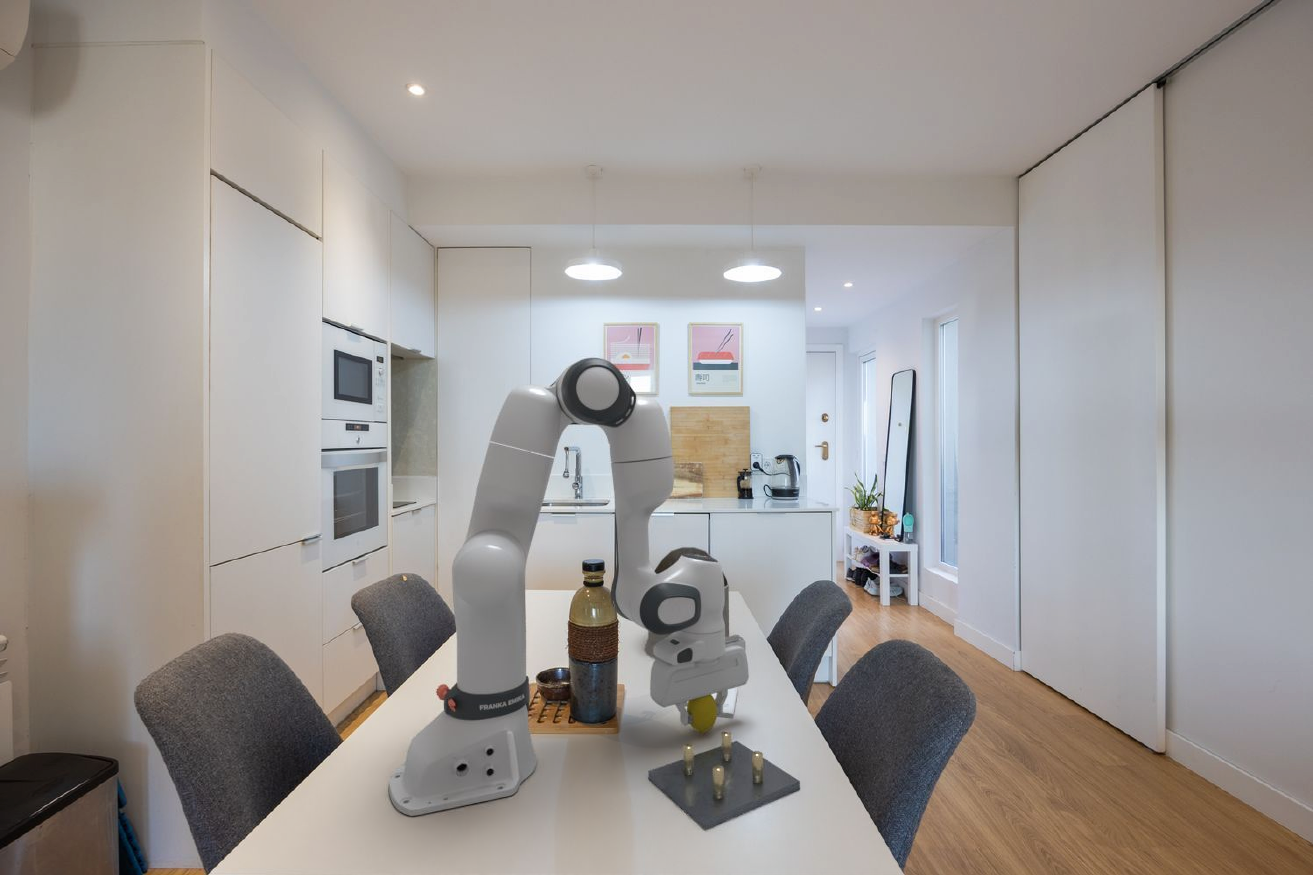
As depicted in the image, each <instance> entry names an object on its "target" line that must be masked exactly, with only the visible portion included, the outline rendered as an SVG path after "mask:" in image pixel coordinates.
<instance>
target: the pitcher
mask: <svg viewBox="0 0 1313 875" xmlns="http://www.w3.org/2000/svg"><path fill="white" fill-rule="evenodd" d="M684 554H699V555H703V556H708V557H711V558H714V557H713V556H712V555H710V554H709V553H708V551H706V550H704V549H702V548H701V549H700V548H697V547H696V546H695V547H694V546H682V547H681V546H680V547H678V548H675V549H672V550H670V551H669V552H668V553H667V554H666V555H665V556H664V557H663V558H661V559H660V560H659V563H657V565H656V567H655V568H654V569H653V570H654V572H655V573H656V574H659V573H661V572H663V571H665V570H666V569H668V568H669V567H671V566H672V565H673V564H674V563H676V562H677V561H678V560H679V558H680V556H681V555H684ZM722 572H723V578H724V592H725V604H724V608H723V620H724V623H725V637H730V600H729V599H730V597H729V596H730V590H729V589H730V586H729V580H728V578H727V576H726V573H725V571H723V569H722ZM647 631H648V630H647ZM647 633H648V634H647V635H648V636H647V637H648V638H647V640H646V644H645V646H644V649H643V652H644V653H645V654H646V656H647V657H649V658H651V659H653V660H654V661H655V660H656V659H657V658H658V657H656V656H655V655H654V653H653V648H654V645H655V644H657V643H658V642H660V641H662V640H663V639H665V638H666V637H668V636H670V635H671V634H672V633H670V634H666V635H658V634H654V633H651V632H649V631H648V632H647ZM673 633H674V632H673Z"/></svg>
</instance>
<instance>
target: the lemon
mask: <svg viewBox="0 0 1313 875" xmlns="http://www.w3.org/2000/svg"><path fill="white" fill-rule="evenodd" d="M686 711H688V712H689V713H691V714H692V723H691V724H689V725H690V726H691V728H693V729H694V730H695V731H698V732H699V733H700V734H702V735H703V734H705V733H706V732H707V731H709V730H711V729H712V728H713V727H714V725H715V724H716V720H717V718H718V717H717V707H716V703H715V700H714V698H713V696H712V695H711V694H710V695H707V696H703V697H699V698H696V699H692V700H689V701H687V706H686Z"/></svg>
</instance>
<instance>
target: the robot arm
mask: <svg viewBox="0 0 1313 875" xmlns="http://www.w3.org/2000/svg"><path fill="white" fill-rule="evenodd" d="M626 379H627V378H626V377H625V376H624V374H623V372H621V370H620V369H619V367H617V366H616V365H615V364H613V363H612V362H611V361H608V360H607V359H604V358H600V357H587V358H586V357H585V358H583V359H580V360H578V361H577V362H575V363H572V364H570V366H568V367H566V369H565V370H564V371H563V372H562V373H560V375H559V376H558V378H556V380H555V381H554V382H553V383H552V384H551V385H550V386H541V385H536V384H523V385H519V386H516V387H515V388H513V389H512V390H511V391H510V392H509V393H508V395H507V397H506V398H505V401H504V402H503V405H502V406H501V409H500V411H499V414H498V415H497V419H496V420H495V424H494V426H493V430H492V433H491V436H490V439H489V443H488V446H487V450H486V454H485V457H484V461H483V464H482V468H481V472H480V475H479V479H478V481H477V482H478V483H477V486H476V490H475V496H474V502H473V507H472V512H471V517H470V519H469V526H468V529H467V533H466V537H465V541H464V543H463V545H462V546H461V548H460V549H459V550H458V551H457V553H456V555H455V557H454V559H453V562H452V564H451V565H452V567H451V578H452V579H451V584H452V585H451V586H452V588H451V589H452V600H453V601H452V602H453V611H454V612H453V614H454V621H455V631H456V683H455V684H454V685H453V686H452V687H451V688H450V687H449V686H448V685H447V684H445V683H443V684H442V683H441V684H439V686H438V687H437V688H435V689H436V691H435V693H436V696H437V698H438V699H439V700H441V701H443V711H442V712H440V713H439V714H438V715H437V716H436V717H435V718H434V719H432V720H431V721H430V723H428V724H427V725H425V726H424V727H423V728H422V729H421V730H420V731H419V732H418V733H417V734H416V735H415V736H413V738H412V739H411V741H410V743H409V745H408V748H407V752H406V756H405V757H406V758H405V763H404V764H403V765H401V766H398V767H396V769H395V770H394V771H393V772H392V774H391V775H390V778H389V779H390V780H389V785H388V786H389V787H388V792H389V797H390V799H391V803H392V804H393V806H394V807H395V808H396V809H397V811H399V812H401V813H402V814H405V815H406V816H410V817H414V816H421V815H425V814H429V813H433V812H435V813H436V812H440V811H443V810H444V811H445V810H449V809H453V808H454V809H455V808H459V807H463V806H467V805H472V804H477V803H481V802H486V801H492V800H497V799H500V798H506V797H511V796H513V795H514V794H516V792H517V791H518V789H520V786H521V783H523V781H524V780H526V779H527V778H528V777H529V776H531V774H532V773H533V772H534V770H535V769H536V767H537V762H538V761H537V756H536V753H535V750H534V747H533V742H532V737H531V731H530V723H529V714H528V711H530V700H531V699H530V698H531V689H530V680H529V676H528V675H527V617H526V616H527V614H526V613H527V612H526V610H527V609H526V606H527V605H526V566H527V561H528V557H529V553H530V549H531V545H532V542H533V539H534V535H535V531H536V527H537V525H538V524H537V523H538V520H539V517H540V513H541V510H542V507H543V504H544V499H545V496H546V493H547V492H546V491H547V489H548V483H549V481H550V477H551V473H552V469H553V466H554V462H555V457H556V454H557V450H558V445H559V442H560V440H561V436H562V435H563V432H564V431H565V430H566V429H567V427H568V426H570V425H571V426H573V425H580V426H581V425H582V426H597V427H599V428H600V429H602V431H603V432H604V433H605V435H606V438H607V441H608V442H607V443H608V444H609V455H610V467H611V477H612V483H613V484H612V485H613V492H614V494H613V495H614V496H613V497H614V532H615V534H614V536H615V554H616V557H615V558H616V560H615V561H616V562H615V563H616V565H615V566H616V567H615V571H614V575H613V579H612V582H611V588H610V601H611V605H612V606H613V608H614V604H615V609H614V610H615V612H616V613H617V614H618V615H619V616H620V617H621V618H624V619H625V620H627V621H631V622H633V623H634V624H636V625H637V626H639V627H641V628H643V629H644V630H646V631H649V632H651V633H654V634H658V635H666V634H670V633H672V634H671V635H670V636H668V637H666V638H665V639H663V640H662V641H660V642H658V643H657V644H655V645H654V648H653V653H654V655H655V656H656V657H658V658H657V659H656V660H654V661H653V663H652V666H651V670H650V680H649V681H650V683H649V684H650V687H649V688H650V690H649V691H650V693H649V695H650V697H651V699H652V701H653V702H655V704H657V705H658V706H660V707H661V708H668V707H671V706H674V705H675V707H676V708H677V711H678V712H679V717H680V718H679V720H680V723H681V724H682V725H684V726H687V725H690V724H691V723H692V714H691V713H689V712H688V711H687V705H688V701H689V700H692V699H696V698H699V697H703V696H707V695H710V694H714V693H717V695H716V698H715V703H716V707H717V715H720V714H723V704H724V702H725V700H726V698H727V695H728V689H732V688H738V687H742V686H745V685H747V683H748V680H749V678H750V676H749V673H750V672H749V663H748V657H747V652H746V641H745V639H744V638H743V637H742V636H740V634H733V635H731V636H730V635H729V637H725V623H724V620H723V608H724V604H725V592H724V578H723V572H724V571H723V572H722V570H723V569H722V565H721V563H720V561H718V560H717V559H716V558H714V557H713V558H711V557H708V556H703V555H699V554H684V555H681V556H680V558H679V560H678V561H677V562H676V563H674V564H673V565H672V566H671V567H669V568H668V569H666V570H665V571H663V572H661V573H659V574H656V573H655V572H654V570H655V569H654V568H653V567H652V565H651V562H650V548H649V546H650V544H649V543H650V542H649V524H650V518H651V516H652V514H653V513H654V512H655V510H656V509H658V508H659V507H661V506H662V505H663V504H664V503H665V502H666V501H667V500H668V499H669V497H670V496H671V494H672V493H673V490H674V483H675V463H674V457H673V449H672V448H673V447H672V442H671V441H672V440H671V435H670V432H669V427H668V423H667V420H666V416H665V413H664V410H663V407H662V406H661V404H660V403H659V402H657V400H655V399H653V398H651V397H648V396H643V395H642V396H641V395H637V394H636V392H635V391H634V389H633V388H632V387H631V385H630V384H629V382H628V381H627V380H626ZM613 601H614V604H613ZM673 632H674V633H673Z"/></svg>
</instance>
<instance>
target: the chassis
mask: <svg viewBox="0 0 1313 875" xmlns="http://www.w3.org/2000/svg"><path fill="white" fill-rule="evenodd" d="M763 754H764V753H763V752H762V751H759V750H755V751H754V750H752V749H751V748H749V747H748V746H746V745H744V744H742V743H741V742H740V741H738V740H735V741H732V733H731V732H730V731H722V732H721V746H717V747H714V748H711V749H708V750H706V751H702V752H699V753H697V754H695V755H694V745H693V744H691V743H685V744H683V758H682V759H680V760H677V761H673V762H671V763H667V764H665V765H662V766H660V767H659V766H658V767H656V768H653V769H650V770H648V774H647V775H648V780H649V781H650V782H652V784H654V785H655V787H657V788H658V789H659V790H660V791H662V792H663V793H664V794H665V795H666V796H667V797H668V798H669V799H670V800H671V801H673V802H674V803H675V804H676V805H677V806H678V807H679V808H680V809H681V810H682V811H684V812H685V813H686V814H687V815H688V816H689V817H690V818H691V819H692V820H694V822H696V824H698V825H699V826H701V828H702V829H703V830H705V831H706V830H708V829H711V828H713V827H716V826H718V825H721V824H722V823H725V822H727V821H729V820H732V819H734V818H737V817H739V816H741V815H743V814H745V813H747V812H750V811H753V810H754V809H757V808H760V807H762V806H764V805H767V804H769V803H771V802H774V801H775V800H779V799H780V798H783V797H785V796H788V795H790V794H792V793H794V792H796V791H798V790H801V781H800V780H799V779H797V778H795V777H794V776H792V775H791V774H789V773H788V772H787V771H785V770H783V769H781V768H780V767H779V766H777V765H775V764H774V763H773V762H771V761H769V759H766V758H764V755H763Z"/></svg>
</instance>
